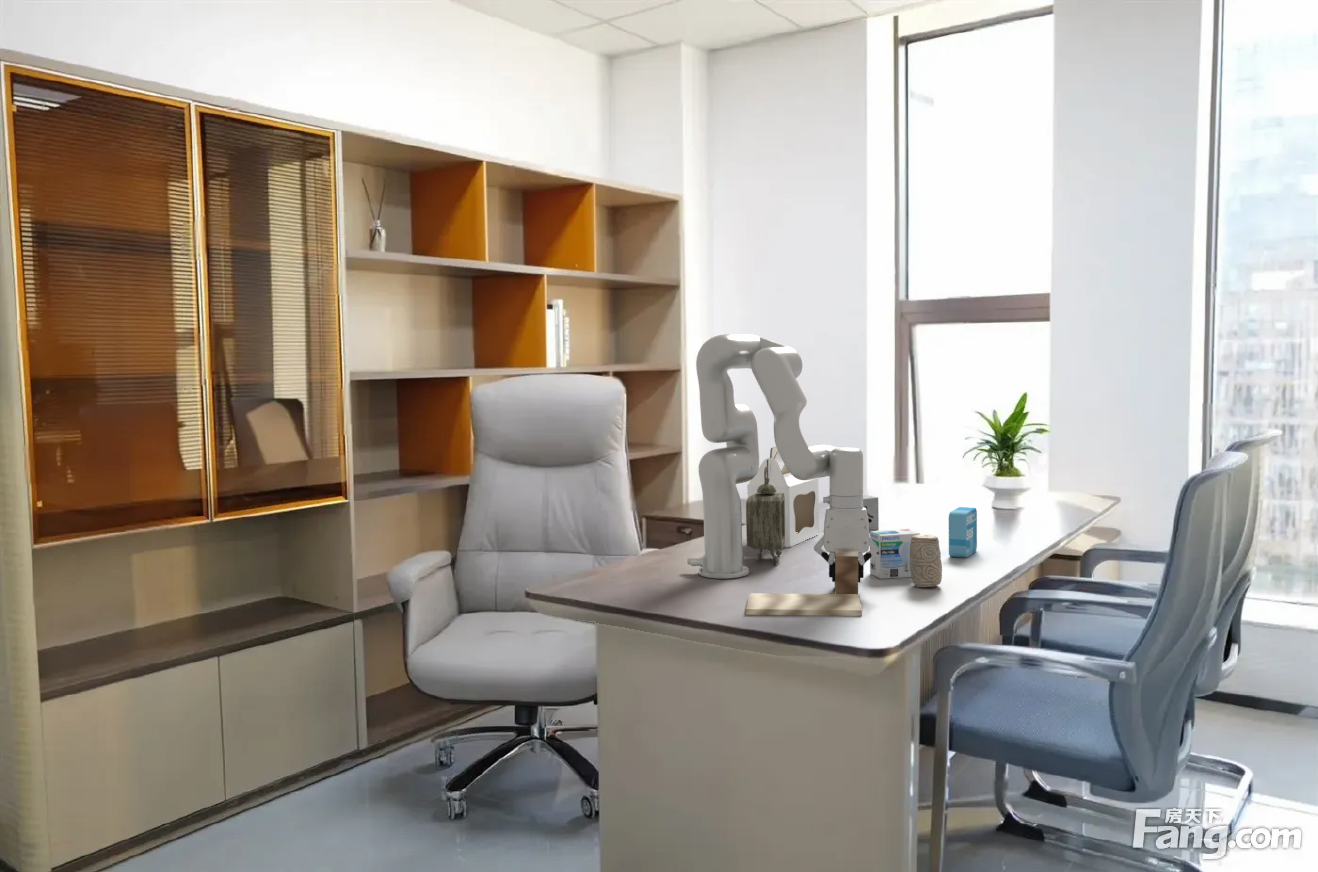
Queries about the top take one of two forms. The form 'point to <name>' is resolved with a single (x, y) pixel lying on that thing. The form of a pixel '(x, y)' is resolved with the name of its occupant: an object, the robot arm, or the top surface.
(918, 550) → the carving
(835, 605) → the birch board
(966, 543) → the data package
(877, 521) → the icon cube
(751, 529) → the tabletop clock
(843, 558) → the walnut block
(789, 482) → the gable box
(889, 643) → the top surface
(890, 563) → the light bulb box
